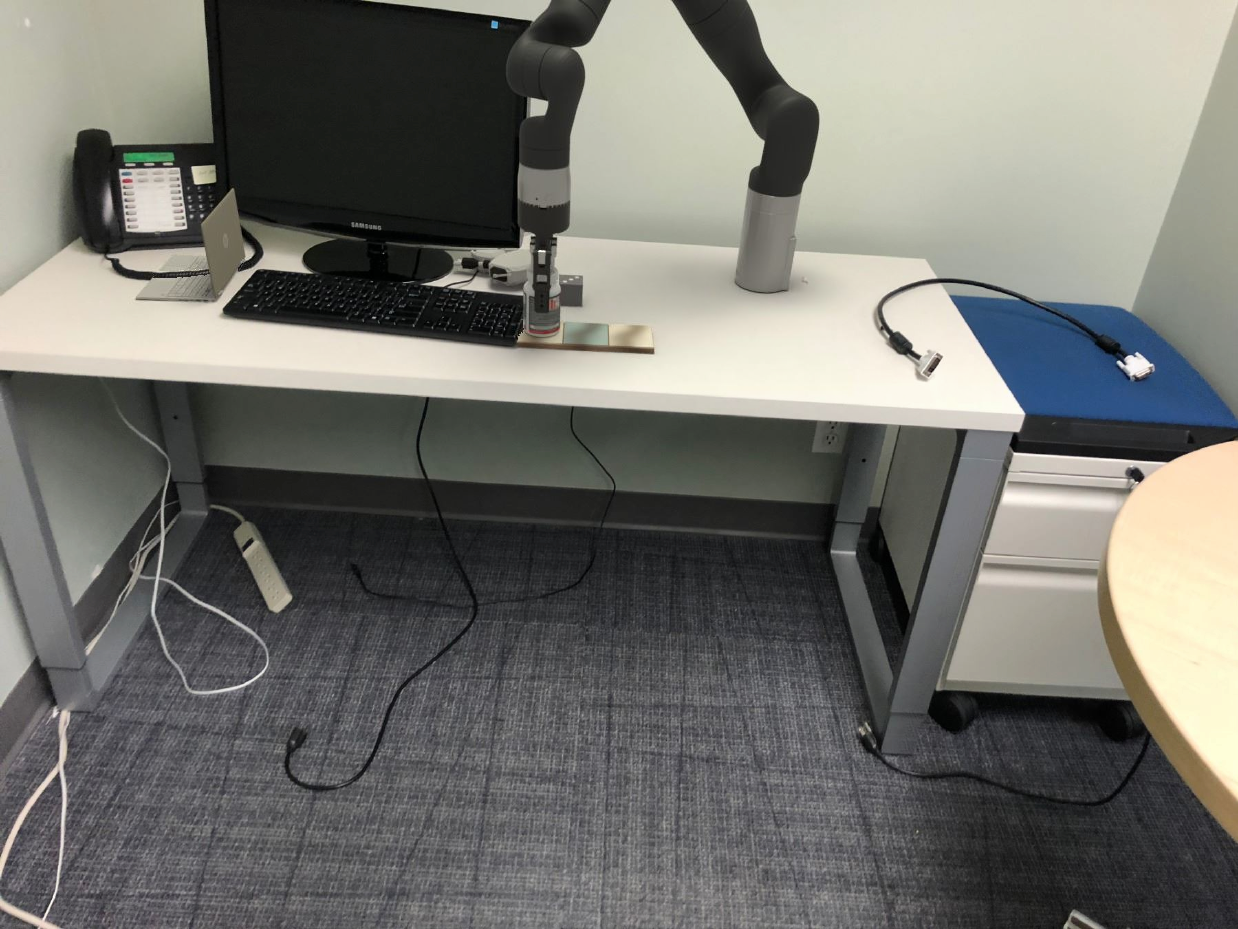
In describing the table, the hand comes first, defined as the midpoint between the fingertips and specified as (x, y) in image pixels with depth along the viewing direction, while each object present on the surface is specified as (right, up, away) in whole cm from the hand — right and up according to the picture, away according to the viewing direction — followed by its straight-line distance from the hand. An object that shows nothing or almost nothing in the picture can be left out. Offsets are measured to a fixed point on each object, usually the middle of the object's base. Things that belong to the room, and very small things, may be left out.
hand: (542, 300), depth 142 cm
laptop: (-59, +5, +14) cm, 61 cm away
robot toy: (-9, +8, +23) cm, 26 cm away
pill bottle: (0, -4, +3) cm, 6 cm away
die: (+3, +2, +16) cm, 16 cm away
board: (+6, -5, +4) cm, 9 cm away
